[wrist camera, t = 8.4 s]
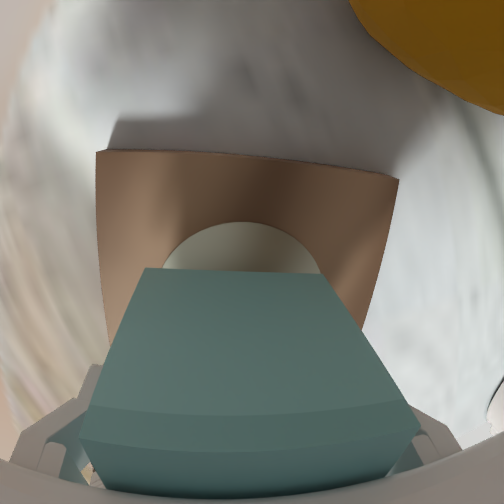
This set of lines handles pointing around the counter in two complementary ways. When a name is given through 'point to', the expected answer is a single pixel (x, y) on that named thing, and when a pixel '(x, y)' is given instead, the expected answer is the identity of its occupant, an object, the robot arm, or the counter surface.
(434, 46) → the apple
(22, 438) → the robot arm
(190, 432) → the teal cube box
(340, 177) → the tan plate with disc
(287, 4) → the counter surface
